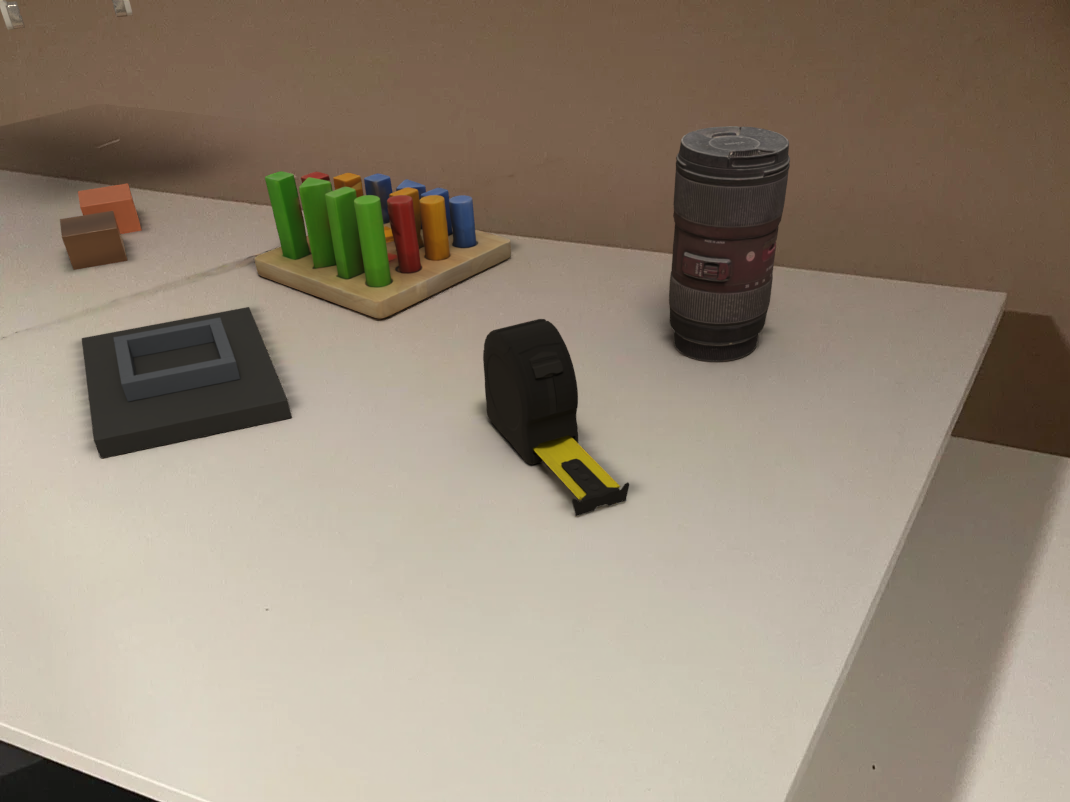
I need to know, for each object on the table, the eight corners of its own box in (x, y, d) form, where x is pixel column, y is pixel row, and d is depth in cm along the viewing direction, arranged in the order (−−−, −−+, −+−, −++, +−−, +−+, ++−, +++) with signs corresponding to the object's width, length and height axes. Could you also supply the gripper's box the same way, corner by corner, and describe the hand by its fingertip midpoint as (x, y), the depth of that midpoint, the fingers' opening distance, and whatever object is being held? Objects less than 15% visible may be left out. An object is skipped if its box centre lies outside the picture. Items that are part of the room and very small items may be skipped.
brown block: (130, 270, 98) (116, 227, 95) (77, 280, 96) (61, 236, 94) (126, 252, 101) (113, 210, 98) (74, 261, 100) (59, 219, 97)
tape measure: (485, 419, 75) (476, 313, 69) (538, 405, 76) (533, 299, 70) (573, 519, 65) (571, 405, 60) (631, 501, 67) (635, 387, 61)
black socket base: (291, 418, 76) (283, 380, 74) (101, 458, 73) (86, 421, 71) (253, 323, 88) (244, 289, 86) (87, 355, 85) (74, 320, 83)
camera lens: (785, 354, 80) (814, 146, 70) (692, 374, 78) (708, 164, 68) (737, 314, 86) (757, 115, 75) (649, 332, 84) (658, 131, 73)
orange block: (144, 240, 103) (131, 198, 100) (94, 248, 102) (79, 206, 99) (140, 224, 106) (127, 183, 103) (91, 232, 105) (77, 191, 102)
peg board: (514, 257, 96) (509, 159, 90) (381, 322, 87) (365, 218, 81) (388, 219, 104) (376, 126, 98) (255, 275, 96) (232, 177, 89)
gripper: (136, -194, 86) (183, 2, 96) (-124, -177, 81) (-47, 27, 91) (144, -190, 82) (191, 14, 92) (-130, -171, 77) (-49, 42, 87)
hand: (71, 21), depth 91 cm, fingers open, 8 cm apart
